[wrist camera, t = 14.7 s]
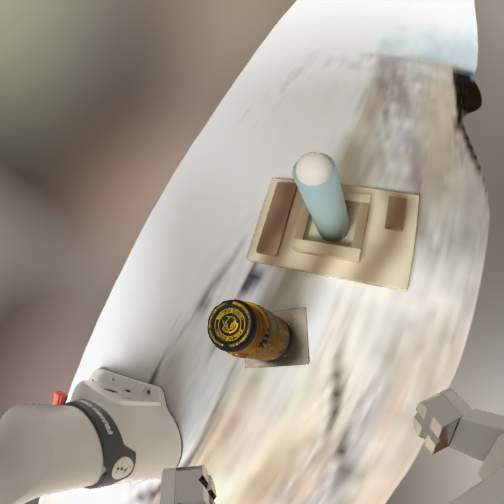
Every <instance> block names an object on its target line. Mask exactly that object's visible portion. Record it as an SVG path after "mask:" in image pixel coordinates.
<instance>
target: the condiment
mask: <svg viewBox="0 0 504 504" xmlns="http://www.w3.org/2000/svg"><path fill="white" fill-rule="evenodd" d="M288 324H290V325H288ZM291 325H292V326H293V327H291ZM208 334H209V337H210V339H211V341H212V342H213V343H214V344H215V346H216V347H218V348H219V349H221V350H223V351H226V352H228V353H229V354H231V355H232V356H235V357H240V358H245V368H254V367H275V366H291V365H304V364H309V359H308V337H307V321H306V308H298V309H290V310H282V311H274V312H270V311H268V310H266V309H264V308H262V307H261V306H259V305H256V304H254V303H250V302H243V301H240V300H236V299H235V300H228V301H224V302H222V303H221V304H219V305H218V306H216V307H215V308H214V309H213V311H212V313H211V315H210V317H209V320H208ZM284 356H285V357H284Z"/></svg>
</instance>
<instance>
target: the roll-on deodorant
mask: <svg viewBox="0 0 504 504" xmlns="http://www.w3.org/2000/svg"><path fill="white" fill-rule="evenodd" d="M293 179H294V181H295V183H296V185H297V187H298V189H299V191H300V193H301V195H302V198H303V200H304V202H305V204H306V206H307V208H308V210H309V212H310V215H311V217H312V219H313V221H314V223H315V226H316V228H317V230H318V232H319V234H320V236H321V237H322V238H323V239H325V240H326V241H330V242H337V241H340V240H342V239H343V238H345V237H346V236H347V234H348V233H349V230H350V221H349V217H348V212H347V208H346V204H345V200H344V196H343V191H342V187H341V183H340V180H339V176H338V172H337V168H336V165H335V162H334V161H333V159H332V158H331V157H329V156H328V155H325V154H322V153H316V152H311V153H307V154H305V155H304V156H302V157H301V158H300V159H299V160H298V161H297V163H296V164H295V166H294V168H293Z"/></svg>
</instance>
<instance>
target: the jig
mask: <svg viewBox="0 0 504 504" xmlns="http://www.w3.org/2000/svg"><path fill="white" fill-rule="evenodd" d="M341 187H342V191H343V196H344V200H345V204H346V208H347V212H348V217H349V221H350V230H349V233H348V234H347V236H346V237H345V238H343V239H342V240H340V241H337V242H330V241H326V240H325V239H323V238H322V237H321V236H320V234H319V232H318V230H317V228H316V226H315V223H314V221H313V219H312V217H311V215H310V212H309V210H308V208H307V206H306V204H305V202H304V200H303V198H302V195H301V193H300V191H299V189H298V187H297V185H296V183H295V181H294V180H285V179H272V180H271V183H270V186H269V189H268V192H267V195H266V198H265V201H264V204H263V207H262V210H261V214H260V217H259V220H258V223H257V226H256V229H255V232H254V235H253V238H252V241H251V245H250V248H249V251H248V254H247V257H246V258H247V259H248V260H249V261H252V262H257V263H262V264H268V265H273V266H278V267H283V268H288V269H293V270H298V271H303V272H308V273H313V274H319V275H324V276H329V277H334V278H339V279H345V280H350V281H355V282H360V283H365V284H371V285H376V286H381V287H387V288H392V289H397V290H403V291H407V288H408V282H409V276H410V270H411V264H412V257H413V250H414V243H415V234H416V226H417V216H418V205H419V195H413V194H407V193H400V192H393V191H386V190H379V189H371V188H363V187H355V186H346V185H341Z"/></svg>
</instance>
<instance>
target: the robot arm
mask: <svg viewBox="0 0 504 504" xmlns="http://www.w3.org/2000/svg"><path fill="white" fill-rule="evenodd" d="M149 390H150V393H149ZM67 397H68V396H67V394H65V393H64V392H62V391H55V392H54V400H53V404H54V405H52V404H39V403H38V404H37V403H28V402H26V403H21V404H18V405H15V406H13V407H11V408H10V409H9V410H7V412H6V413H5V414H4V415H3V417H2V418H1V420H0V504H24V503H26V502H28V501H30V500H32V499H35V498H37V497H40V496H43V495H46V494H51V493H56V492H61V491H66V490H71V489H76V488H81V487H84V488H89V489H91V488H101V487H104V486H108V485H112V484H118V483H126V482H129V483H131V484H137V483H140V482H142V481H144V480H149V479H161V478H162V479H161V495H160V504H215V502H214V499H215V498H216V490H215V485H214V482H213V479H212V477H211V476H210V475H208V473H207V468H206V467H205V465H200V466H190V467H178V468H177V465H178V463H179V460H180V456H181V438H180V434H179V430H178V427H177V425H176V423H175V421H174V419H173V417H172V415H171V414H170V412H169V410H168V408H167V406H166V401H165V396H164V393H163V390H162V389H161V388H160V387H159V386H156V385H152V384H149V383H145V382H142V381H139V380H135V379H132V378H129V377H126V376H122V375H119V374H116V373H113V372H110V371H107V370H104V369H97V370H96V371H95V372H94V373H93V374H92V375H91V377H90V379H89V381H82V382H80V383H79V384H78V385H77V386H76V388H75V389H74V391H73V394H72V397H71V400H70V402H68V403H66V404H65V402H66V400H67ZM416 410H417V411H418V413H417V414H416V415H415V417H414V421H413V424H414V429H415V431H416V433H417V434H418V436H419V437H421V438H424V439H425V443H424V444H425V445H426V447H427V448H428V450H429V451H430V452H431V454H434V453H436V452H438V451H440V450H442V449H444V448H446V447H448V446H449V447H451V448H453V449H455V450H458V451H460V452H462V453H464V454H467V455H469V456H472V457H474V458H476V459H478V460H481V461H483V463H482V465H481V467H480V468H479V470H478V474H479V476H480V477H481V479H482V481H481V482H479V483H478V484H476V485H475V486H473V487H472V488H470V489H469V490H467V491H466V492H464V493H463V494H461V495H460V496H458V497H456V498H455V499H453V500H451V501H450V502H448V503H446V504H504V416H501V415H498V414H493V413H490V412H486V411H482V410H478V409H474V410H472V409H471V408H470V407H469V406H468V405H467V404H466V403H465V402H464V401H463V400H462V399H461V398H460V397H459V395H458V394H457V393H456V392H455V391H454V390H453V389H451V388H448V389H446V390H444V391H442V392H440V393H437V394H436V395H434V396H432V397H430V398H428V399H426V400H424V401H422V402H420V403H418V405H417V407H416Z"/></svg>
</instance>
